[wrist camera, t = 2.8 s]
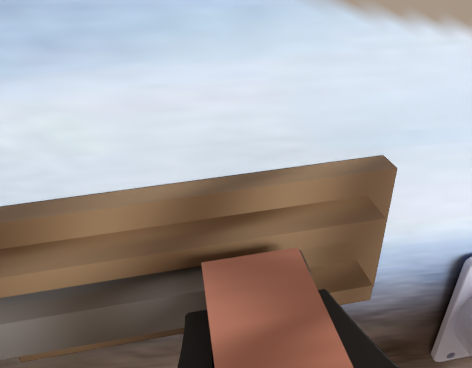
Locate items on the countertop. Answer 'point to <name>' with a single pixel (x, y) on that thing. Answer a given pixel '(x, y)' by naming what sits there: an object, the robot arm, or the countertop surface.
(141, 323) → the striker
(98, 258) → the track board
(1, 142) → the countertop surface
